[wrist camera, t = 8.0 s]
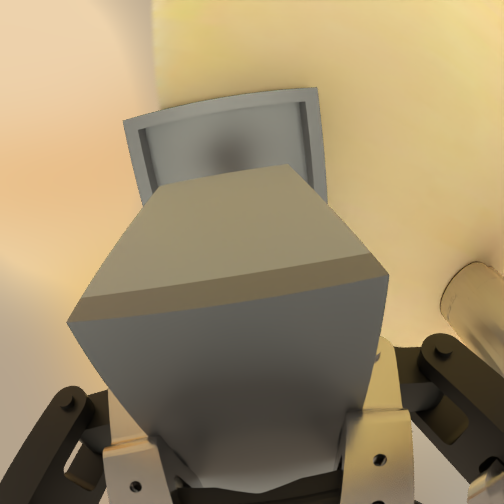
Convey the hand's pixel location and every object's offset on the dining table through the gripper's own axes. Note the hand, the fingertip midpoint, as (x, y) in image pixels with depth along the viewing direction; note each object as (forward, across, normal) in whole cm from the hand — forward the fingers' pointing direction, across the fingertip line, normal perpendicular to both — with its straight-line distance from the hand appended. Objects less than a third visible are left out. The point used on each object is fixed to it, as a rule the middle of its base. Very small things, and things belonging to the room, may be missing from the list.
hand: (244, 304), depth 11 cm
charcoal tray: (+15, 0, 0) cm, 15 cm away
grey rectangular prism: (+1, 0, 0) cm, 1 cm away
